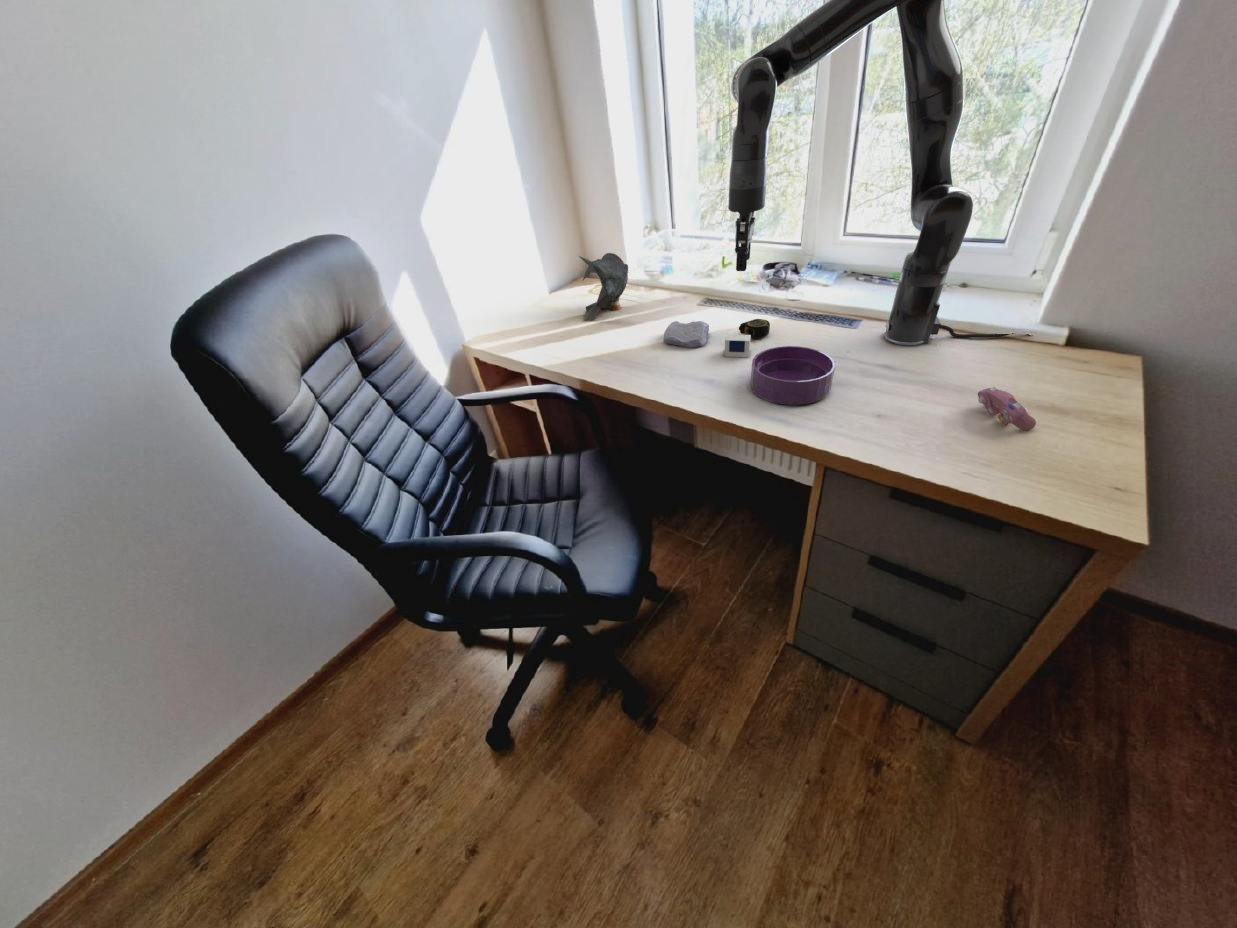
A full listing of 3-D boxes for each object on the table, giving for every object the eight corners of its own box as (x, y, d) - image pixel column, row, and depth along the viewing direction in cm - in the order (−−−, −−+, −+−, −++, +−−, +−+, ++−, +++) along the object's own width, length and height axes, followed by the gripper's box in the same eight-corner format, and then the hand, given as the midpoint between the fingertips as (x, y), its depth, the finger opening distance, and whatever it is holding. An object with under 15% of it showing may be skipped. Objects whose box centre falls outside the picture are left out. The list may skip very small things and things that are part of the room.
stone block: (703, 354, 126) (710, 332, 132) (702, 339, 123) (709, 317, 129) (661, 353, 131) (670, 332, 136) (659, 338, 127) (668, 317, 133)
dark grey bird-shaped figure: (631, 316, 149) (626, 257, 138) (584, 321, 150) (575, 262, 139) (631, 301, 160) (626, 245, 149) (587, 305, 161) (579, 250, 150)
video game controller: (975, 412, 93) (970, 387, 89) (999, 401, 92) (996, 374, 88) (1012, 441, 85) (1009, 414, 82) (1039, 428, 84) (1037, 401, 80)
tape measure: (758, 328, 132) (759, 315, 129) (774, 336, 127) (775, 323, 124) (738, 334, 130) (738, 321, 128) (753, 342, 125) (754, 329, 123)
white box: (749, 351, 121) (750, 334, 119) (748, 357, 119) (749, 340, 116) (726, 350, 123) (726, 334, 120) (724, 356, 120) (725, 340, 118)
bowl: (828, 371, 109) (833, 347, 105) (831, 409, 97) (836, 384, 93) (753, 368, 114) (755, 345, 110) (747, 404, 102) (749, 379, 98)
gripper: (764, 189, 91) (757, 274, 101) (768, 177, 101) (762, 255, 111) (725, 191, 93) (722, 275, 103) (733, 179, 104) (730, 256, 114)
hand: (742, 265), depth 107 cm, fingers open, 8 cm apart
